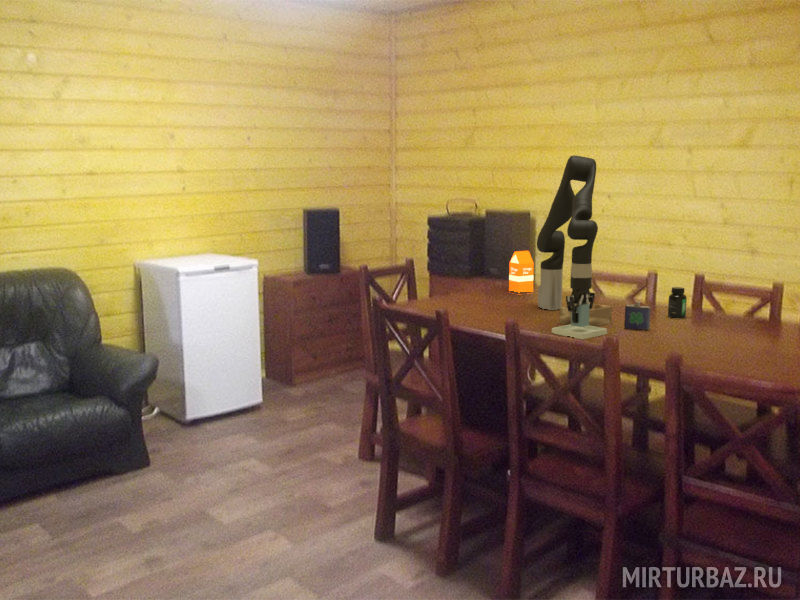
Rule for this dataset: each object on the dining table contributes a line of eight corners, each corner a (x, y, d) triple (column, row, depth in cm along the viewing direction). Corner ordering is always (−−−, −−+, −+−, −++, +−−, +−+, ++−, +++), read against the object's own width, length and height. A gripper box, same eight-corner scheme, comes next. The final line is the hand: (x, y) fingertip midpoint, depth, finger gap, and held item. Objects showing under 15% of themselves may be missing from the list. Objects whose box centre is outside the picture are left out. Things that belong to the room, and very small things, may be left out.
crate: (559, 323, 317) (559, 306, 316) (585, 318, 326) (585, 302, 325) (585, 328, 307) (585, 311, 306) (611, 323, 317) (611, 306, 315)
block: (571, 325, 298) (571, 303, 296) (579, 323, 300) (579, 302, 299) (580, 327, 294) (581, 305, 293) (588, 325, 297) (589, 303, 296)
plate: (551, 333, 299) (551, 327, 299) (576, 328, 307) (576, 323, 307) (582, 339, 288) (582, 334, 288) (607, 334, 297) (607, 328, 296)
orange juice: (533, 292, 390) (534, 251, 387) (518, 294, 386) (519, 252, 382) (523, 290, 397) (523, 249, 393) (508, 292, 392) (509, 250, 389)
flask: (650, 330, 303) (651, 301, 302) (648, 331, 301) (649, 302, 299) (624, 328, 308) (625, 300, 306) (623, 329, 305) (624, 301, 303)
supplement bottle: (688, 319, 324) (689, 289, 322) (671, 319, 324) (672, 289, 322) (682, 315, 330) (683, 286, 328) (665, 315, 330) (666, 286, 328)
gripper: (585, 272, 301) (584, 318, 304) (560, 276, 293) (558, 323, 296) (602, 274, 296) (600, 321, 299) (576, 278, 287) (575, 326, 290)
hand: (579, 321), depth 297 cm, fingers closed on block, 4 cm apart
